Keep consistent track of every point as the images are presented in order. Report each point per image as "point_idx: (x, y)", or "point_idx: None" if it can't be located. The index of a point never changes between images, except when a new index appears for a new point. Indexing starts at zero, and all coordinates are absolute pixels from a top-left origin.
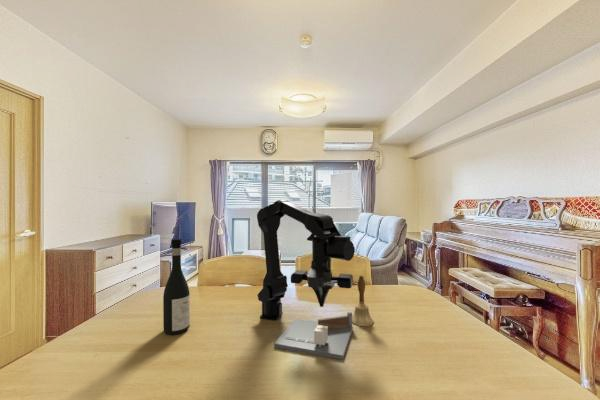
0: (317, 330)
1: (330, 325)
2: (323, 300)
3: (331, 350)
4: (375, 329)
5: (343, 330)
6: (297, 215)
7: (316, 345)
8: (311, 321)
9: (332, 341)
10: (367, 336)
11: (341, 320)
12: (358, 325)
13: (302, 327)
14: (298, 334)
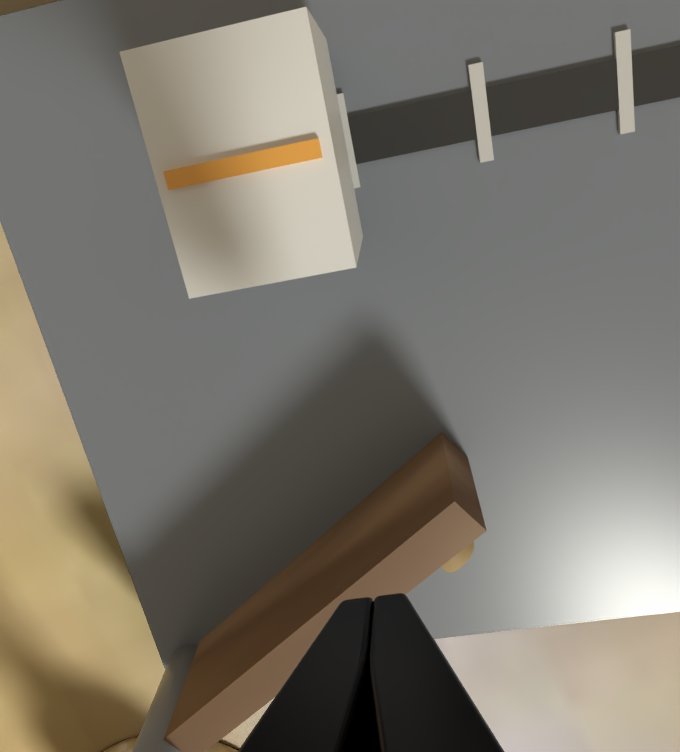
0: (262, 60)
1: (335, 548)
2: (281, 717)
3: (98, 71)
4: (14, 727)
5: (206, 560)
6: None
7: None
8: (626, 601)
9: None
10: (9, 591)
11: (231, 661)
12: None
13: (678, 425)
14: (657, 231)
